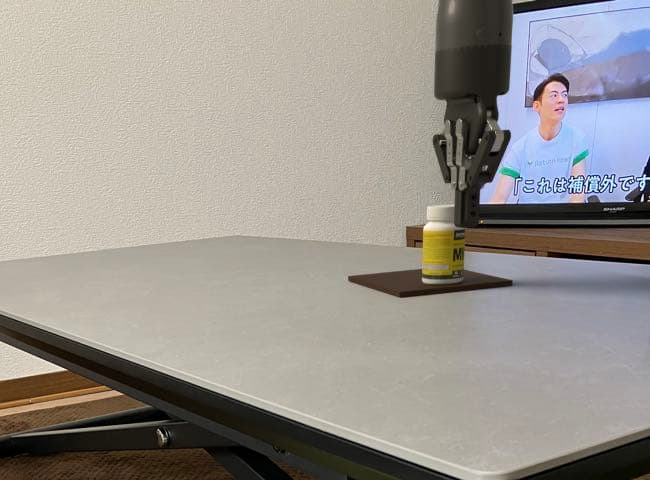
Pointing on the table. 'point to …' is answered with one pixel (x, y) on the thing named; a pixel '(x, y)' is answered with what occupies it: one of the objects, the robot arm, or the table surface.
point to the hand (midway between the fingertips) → (466, 226)
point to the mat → (412, 283)
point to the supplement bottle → (442, 247)
